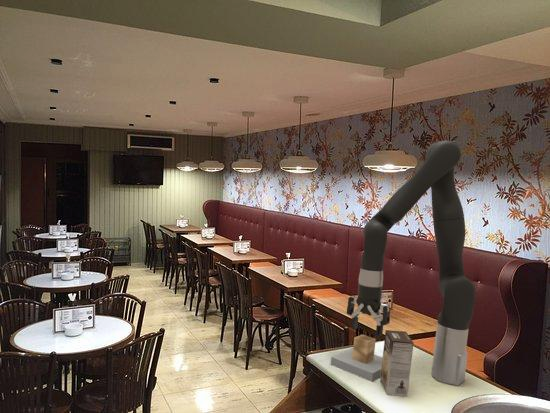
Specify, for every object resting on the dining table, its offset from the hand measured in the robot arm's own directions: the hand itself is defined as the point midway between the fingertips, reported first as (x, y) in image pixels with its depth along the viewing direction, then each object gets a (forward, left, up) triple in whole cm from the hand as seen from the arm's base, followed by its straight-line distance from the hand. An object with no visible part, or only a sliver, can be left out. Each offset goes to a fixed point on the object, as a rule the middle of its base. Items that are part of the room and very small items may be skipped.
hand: (366, 332), depth 144 cm
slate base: (0, 0, -11) cm, 11 cm away
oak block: (0, 0, -9) cm, 9 cm away
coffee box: (-14, +6, -12) cm, 19 cm away
